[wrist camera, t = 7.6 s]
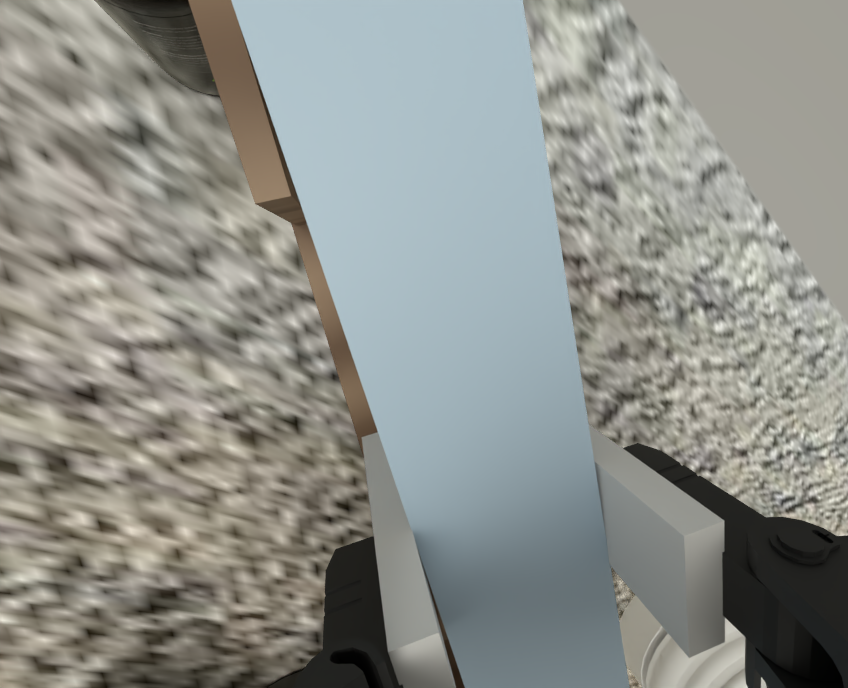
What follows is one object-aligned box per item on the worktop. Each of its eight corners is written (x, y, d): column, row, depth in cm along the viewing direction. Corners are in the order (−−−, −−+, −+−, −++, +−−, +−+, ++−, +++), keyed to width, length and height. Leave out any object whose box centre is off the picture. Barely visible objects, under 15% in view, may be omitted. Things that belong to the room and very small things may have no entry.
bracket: (490, 512, 31) (590, 687, 19) (392, 547, 30) (431, 757, 18) (396, 72, 22) (467, -143, 10) (254, 96, 21) (139, -111, 9)
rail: (561, 659, 17) (650, 822, 12) (475, 699, 16) (532, 886, 12) (413, -2, 10) (486, -233, 5) (253, 31, 9) (165, -194, 4)
